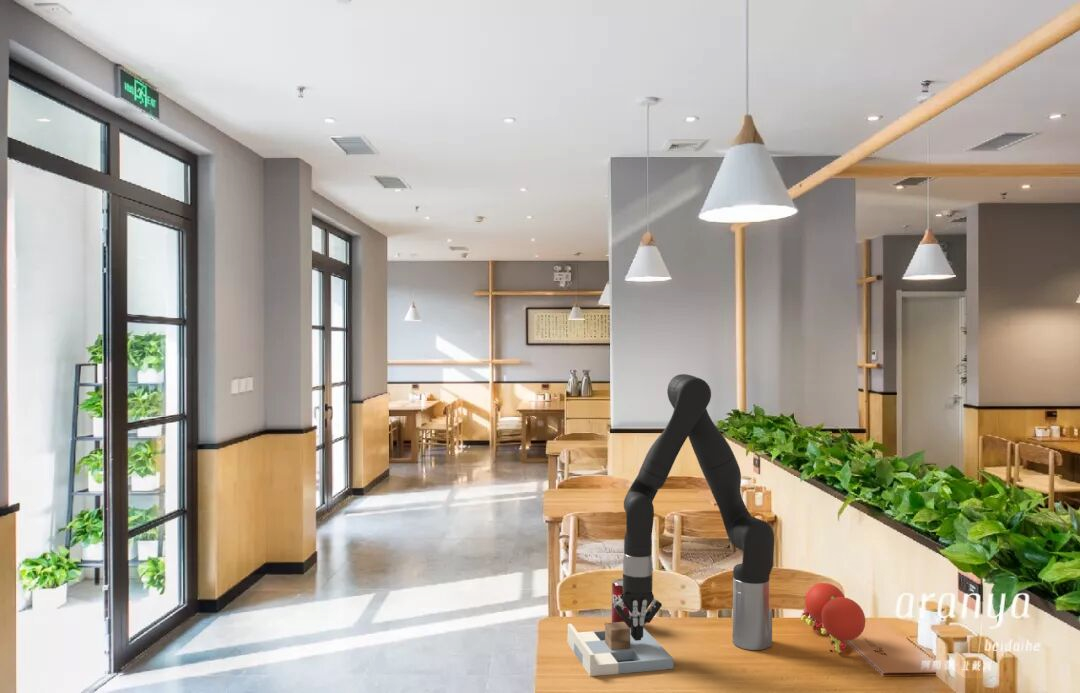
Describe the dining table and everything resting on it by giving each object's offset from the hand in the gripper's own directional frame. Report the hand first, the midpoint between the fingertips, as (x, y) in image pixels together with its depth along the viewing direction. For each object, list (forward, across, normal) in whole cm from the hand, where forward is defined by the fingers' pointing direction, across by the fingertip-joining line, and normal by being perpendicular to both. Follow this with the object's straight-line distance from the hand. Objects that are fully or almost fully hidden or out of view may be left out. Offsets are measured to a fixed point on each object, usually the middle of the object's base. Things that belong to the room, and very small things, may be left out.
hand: (636, 639), depth 200 cm
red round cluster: (+4, -53, +3) cm, 53 cm away
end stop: (+1, +15, 0) cm, 15 cm away
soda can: (+4, -4, -20) cm, 21 cm away
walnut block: (+1, +5, 0) cm, 5 cm away
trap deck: (+4, +5, 0) cm, 6 cm away
